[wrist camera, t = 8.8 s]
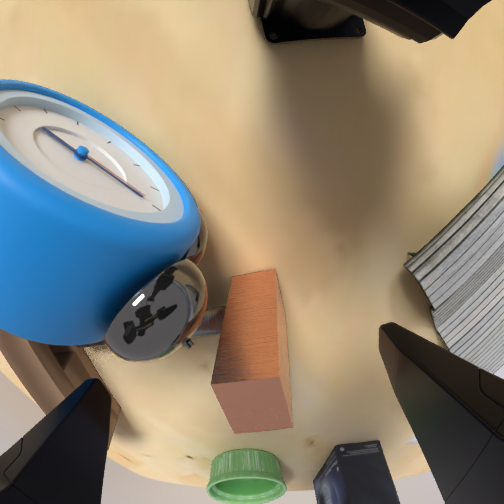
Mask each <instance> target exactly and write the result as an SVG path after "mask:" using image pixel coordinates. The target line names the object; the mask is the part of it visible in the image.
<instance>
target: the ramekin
mask: <svg viewBox="0 0 504 504" xmlns="http://www.w3.org/2000/svg"><path fill="white" fill-rule="evenodd" d="M286 489H287V487H286V484H285V482H284V481H283V477H282V473H281V469H280V465H279V462H278V459H277V458H276V457H275V456H274V455H272V454H270V453H268V452H265V451H261V450H255V449H238V450H232V451H228V452H225V453H222V454H220V455H219V456H217V457H216V458H215V459H214V460H213V462H212V466H211V474H210V481H209V484H208V486H207V493H208V495H209V496H210V497H212V498H213V499H215V500H217V501H220V502H223V503H227V504H262V503H266V502H270V501H273V500H275V499H277V498H279V497H281V496H282V495H283V494H284V493H285V492H286Z"/></svg>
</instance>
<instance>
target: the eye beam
mask: <svg viewBox="0 0 504 504" xmlns="http://www.w3.org/2000/svg"><path fill="white" fill-rule="evenodd" d="M0 351H1V352H2V354H3V355H4V357H5V359H6V360H7V362H8V363H9V365H10V366H11V368H12V369H13V371H14V372H15V374H16V375H17V377H18V378H19V379H20V381H21V382H22V384H23V385H24V386H25V388H26V389H27V391H28V392H29V393H30V395H31V396H32V397H33V399H34V400H35V401H36V403H37V404H38V405H39V406H40V408H41V409H42V410H43V411H44V413H45V414H46V415H47V414H48V413H50V412H51V411H52V410H53V409H54V408H55V407H56V406H57V405H58V404H60V403H61V402H62V401H63V400H64V399H65V398H66V397H67V396H69V395H70V394H71V393H72V392H73V391H74V390H75V389H76V388H77V387H79V386H80V385H81V384H82V383H83V382H84V381H85V380H87V379H88V378H99V379H100V380H101V381H102V383H103V384H104V382H103V380H102V379H101V377H100V376H99V374H98V373H97V371H96V369H95V368H94V366H93V364H92V363H91V361H90V359H89V358H88V356H87V354H86V352H85V351H84V349H83V347H77V346H76V345H73V346H69V345H52V344H44V343H39V342H35V341H31V340H27V339H24V338H21V337H18V336H15V335H12V334H10V333H8V332H6V331H4V330H2V329H0ZM104 386H105V387H106V385H105V384H104ZM106 389H107V390H108V388H107V387H106ZM108 391H109V390H108ZM109 393H110V391H109ZM110 395H111V398H112V404H111V417H110V433H109V442H108V449H109V446H110V442H111V439H112V436H113V432H114V429H115V426H116V422H117V419H118V416H119V413H120V410H121V408H120V406H119V405H118V403H117V402H116V400H115V399H114V397H113V396H112V394H111V393H110ZM108 449H107V450H108Z"/></svg>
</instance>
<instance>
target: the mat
mask: <svg viewBox="0 0 504 504" xmlns="http://www.w3.org/2000/svg"><path fill="white" fill-rule="evenodd" d="M408 254H409V255H411V256H413V257H412V258H411V259H410V260H408V261H407V262H406V263H405V264H404V267H405V268H406V269H407V270H409V271H410V272H411V273H412V274H413V275H414V277H415V278H416V280H417V281H418V283H419V285H420V286H421V288H422V289H423V291H424V293H425V294H426V296H427V298H428V299H429V301H430V303H431V304H432V306H431V307H430V312H431V316H432V319H433V322H434V325H435V327H436V330H437V332H438V334H439V335H440V336H441V337H442V338H443V340H444V341H445V343H446V346H447V348H448V350H449V352H451V353H453V354H455V355H457V356H459V357H461V358H463V359H465V360H467V361H468V362H470V363H472V364H474V365H476V366H478V367H479V368H482V369H484V370H486V371H488V372H490V373H492V374H494V373H495V372H496V371H497V370H498V369H499V368H500V367H501V366H503V365H504V166H503V167H502V168H501V169H500V170H499V171H498V173H497V174H496V175H495V176H494V177H493V178H492V179H491V180H490V182H489V183H488V184H487V185H486V186H485V187H484V188H483V189H482V190H481V191H480V192H479V193H478V194H477V195H476V196H475V197H474V198H473V199H472V200H471V201H470V202H469V203H468V204H467V205H466V206H465V207H464V208H463V209H462V210H461V211H460V212H459V213H458V214H457V215H456V216H455V217H454V218H453V219H452V220H451V221H450V222H449V223H448V224H447V225H446V226H445V227H444V228H443V229H442V230H441V231H440V232H439V233H438V234H437V235H436V236H435V237H434V238H433V239H432V240H431V241H430V242H429V243H427V244H426V245H425V246H424V247H423V248H422V249H421V250H419V251H418V252H417V253H408Z"/></svg>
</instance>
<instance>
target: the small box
mask: <svg viewBox="0 0 504 504" xmlns="http://www.w3.org/2000/svg"><path fill="white" fill-rule="evenodd" d="M313 483H314V489H315V494H316V500H317V504H400V501H399V498H398V495H397V492H396V488H395V485H394V483H393V480H392V476H391V474H390V471H389V468H388V465H387V462H386V460H385V456H384V453H383V450H382V447H381V444H380V441H373V442H365V443H356V444H345V445H337V446H335V448H334V450H333V451H332V453H331V454H330V456H329V458H328V459H327V461H326V462H325V464H324V466H323V467H322V469H321V470H320V472H319V473H318V475H317V476H316V478H315V479H314V480H313Z"/></svg>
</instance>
